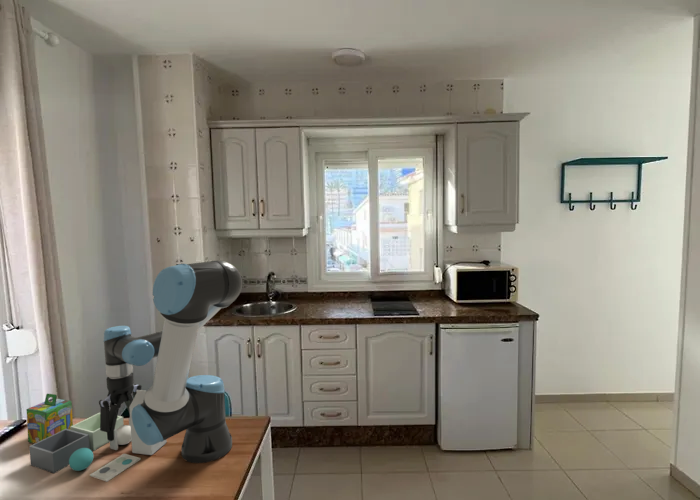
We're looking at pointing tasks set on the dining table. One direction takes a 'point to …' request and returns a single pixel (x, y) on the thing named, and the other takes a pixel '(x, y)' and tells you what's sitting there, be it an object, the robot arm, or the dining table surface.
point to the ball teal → (81, 459)
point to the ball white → (124, 434)
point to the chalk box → (48, 418)
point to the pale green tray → (95, 430)
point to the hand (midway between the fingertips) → (124, 442)
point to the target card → (115, 467)
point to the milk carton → (136, 441)
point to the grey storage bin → (57, 450)
